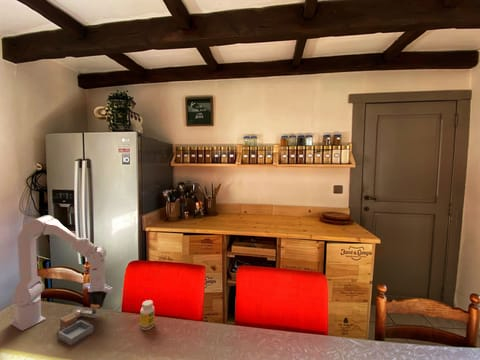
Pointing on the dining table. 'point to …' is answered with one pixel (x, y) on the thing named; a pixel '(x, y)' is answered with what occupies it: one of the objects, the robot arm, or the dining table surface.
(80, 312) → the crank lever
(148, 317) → the supplement bottle
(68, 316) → the block
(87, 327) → the tray
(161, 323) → the dining table surface
